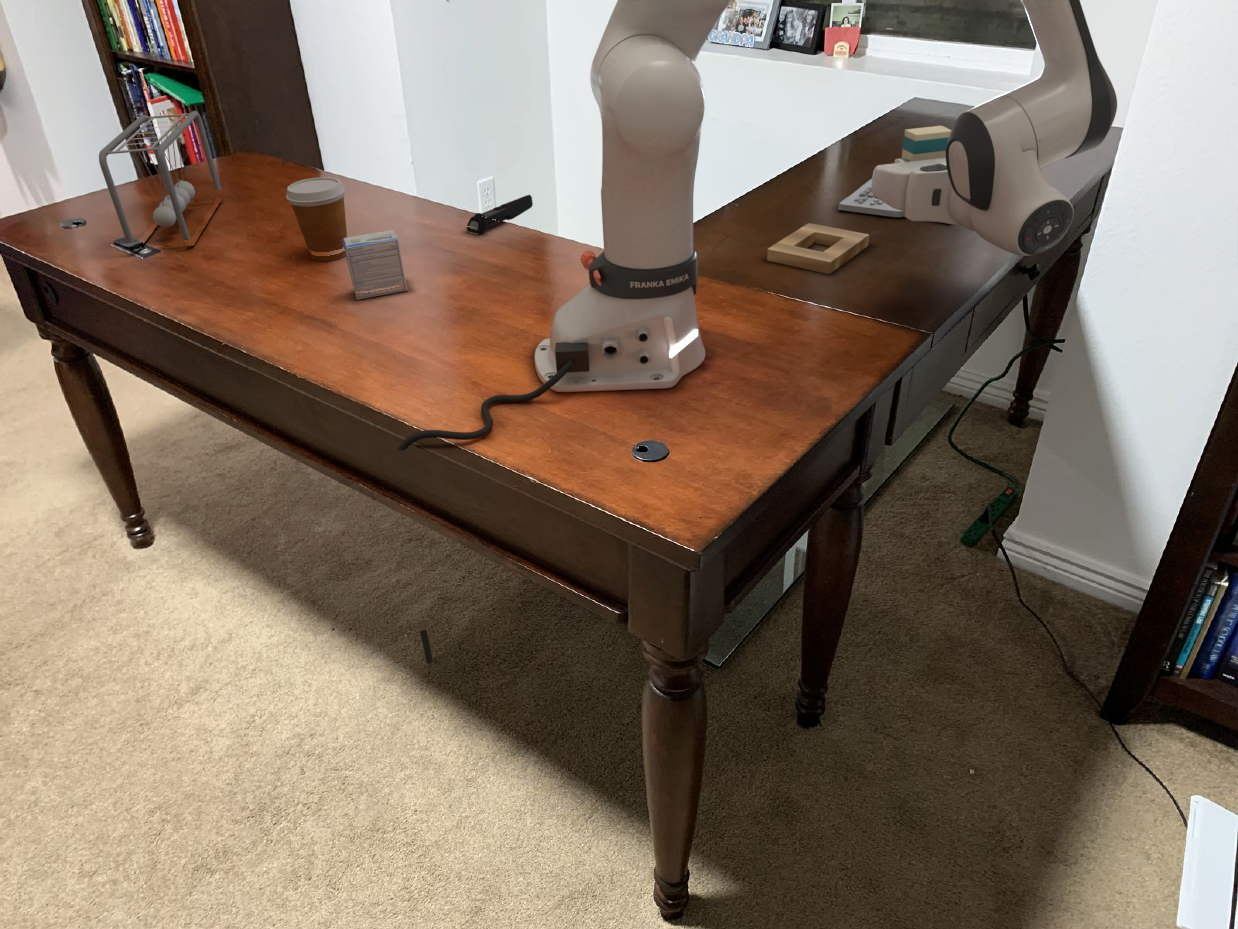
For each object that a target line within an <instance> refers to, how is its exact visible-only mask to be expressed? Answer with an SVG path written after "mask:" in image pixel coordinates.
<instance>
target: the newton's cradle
mask: <svg viewBox="0 0 1238 929" xmlns="http://www.w3.org/2000/svg"><path fill="white" fill-rule="evenodd" d="M176 117H177V120H173V121H171V123H173V124H172V125H168V126H165V128H168V129H167V130H164V131H161V133H163V134H162V135H160V136H159V137H158V136H157V135H156V133H157V134H158V131H155V130H154V129H158V128H162V126H155V127H153V125H154V124H155V122H152V121H153V120H155V119H164V118H176ZM178 117H179V118H178ZM183 119H184V120H183ZM180 121H181V123H180ZM193 121H195V123H196V126H197V130H198V134H199V137H200V140H201V143H202V147H203V151H204V155H205V157H206V162H207V165H208V168H209V172H210V176H211V179H212V183H213V186H214V189H215V190H214V191H216V190H222V186H221V183H220V179H219V176H218V172H217V168H216V164H215V162H214V158H213V155H212V151H211V148H210V144H209V140H208V137H207V133H206V130H205V126H204V122H203V119H202V116H201V115H200V113H199V112H198V111H197V110H193V111H191V112H190V113H177V114H165V115H152V116H151V115H150V116H147V115H146V114H141V115H140V116H139V117H137V118H136V119H135V120H133V121H132V122H131V123H130V125H128V126H127V127H126V128H125V129H124V130H123V131H122V132H121V133H119V134H118V135H117V136H116V137H115V138H114V139H113V140H111V141H110V142H109V143H108V144H106V145H105V146H104V147H103V148H102V149H101V150H100V151H99V153H98V162H99V166H100V169H101V170H100V171H101V173H102V175H103V178H104V181H105V183H106V186H107V190H108V192H109V195H110V198H111V202H112V204H113V207H114V209H115V213H116V215H117V219H118V220H119V223H120V226H121V229H122V232H123V236H124V238H125V240H126V244H127V243H132V242H134V243H135V240H134V237H133V234H132V231H131V229H130V226H129V222H128V219H127V218H126V214H125V210H124V208H123V204H122V202H121V200H120V196H119V194H118V190H117V189H116V185H115V182H114V180H113V176H112V173H111V171H110V168H109V165H108V160H107V156H109V155H112V154H113V155H116V154H126V153H129V154H130V156H131V158H132V159H133V162H134V164H136V165H135V166H136V167H137V169H138V171H139V173H140V175H141V176H142V178H143V180H144V182H145V184H146V186H147V188H148V189H149V192H150V194H151V195H152V197H153V199H154V201H155V202H156V204H157V206H158V207H156V208H155V209H154V211H153V213H152V219H153V221H155V223H156V224H157V225H159V226H158V227H161V228H164V229H165V228H171V227H172V226H174V225H175V223H176V221H177V224H178V227H179V230H180V233H181V237H182V240H183V241H184V240H189V239H190V238H191V237H190V233H189V231H188V226H187V224H186V221H185V217H184V214H183V212H184V211H185V209H186V207H187V206H189V205H190V204H189V202H191V200H192V199H193V198H194V197H195V194H196V191H195V187H194V186H193V184H192V183H190V182H188V181H185V180H184V173H183V164H182V163H183V162H182V154H181V147H180V146H181V145H180V137H179V136H180V135H181V134H182V133H183V132H184V131H185V130H186V129H187V128H188V127H189V126H190V125H191V124H192V123H193ZM165 123H166V124H167V121H160V122H159V121H158V124H165ZM174 128H175V129H174ZM173 129H174V130H173ZM141 131H144V132H141ZM170 132H171V133H170ZM169 133H170V134H169ZM141 134H143V135H144V134H145V135H146V138H147V139H148V141H149V144H150V145H151V146H150V147H146V145H145V142H144V141H143V140H142V139H144V137H141V136H140V135H141ZM168 134H169V135H168ZM136 136H138V137H137V138H135V137H136ZM128 137H129V138H128ZM164 138H165V139H164ZM126 139H127V140H126ZM134 139H135V140H140V143H139V142H138V143H137V142H136V143H135V141H134ZM176 140H177V144H178V153H179V159H180V160H179V161H180V162H179V163H180V170H181V180H180V179H179V177H178V171H177V170H178V169H177V160H176V151H175V150H176V149H175V141H176ZM130 142H132V143H130ZM160 142H161V143H160ZM140 144H141V145H143V148H138V146H137V145H140ZM131 145H132V146H133V145H134V146H135V149H130V148H129V147H128V146H131ZM171 145H172V149H173V156H174V167H175V169H174V168H173V166H172V163H171V156H170V148H169V147H170V146H171ZM125 146H126V148H127V149H124V150H122V149H123V148H124V147H125ZM116 148H117V149H116ZM166 150H167V154H168V156H167V154H166ZM151 151H152V152H153V153H154V157H155V160H156V163H157V167H156V164H155V163H154V160H153V159H152V156H151V155H150V153H149V152H151ZM135 152H136V153H138V154H139V156H140V158H141V161H142V162H143V163H144V165H145V167H146V169H147V172H148V173H149V175H150V177H151V179H152V181H153V183H154V184H155V186H156V188H157V190H158V192H159V194H160V197H161V202H160V203H159V202H158V200H157V199H156V197H155V195H154V193H153V191H152V190H151V187H150V186H149V183H148V181H147V180H146V178H145V176H144V175H143V172H142V170H141V169H140V167H139V165H138V163H137V161H136V159H135V158H134V156H133V153H135ZM141 152H146V153H147V155H148V157H149V159H150V160H151V163H152V164H153V167H154V168H155V170H156V172H157V174H158V177H159V185H160V186H158V184H157V182H156V180H155V179H154V177H153V175H152V172H151V171H150V169H149V166H147V164H146V161H145V160H144V158H143V156H142V154H141ZM168 164H169V166H168ZM172 171H173V174H174V175H175V177H176V183H175V184H174V182H173V174H172ZM162 185H163V186H164V188H165V191H166V196H165V197H164V196H163V188H162ZM159 187H160V188H159ZM168 194H169V195H168Z"/></svg>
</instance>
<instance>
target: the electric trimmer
mask: <svg viewBox="0 0 1238 929" xmlns="http://www.w3.org/2000/svg"><path fill="white" fill-rule="evenodd" d="M533 205H534V204H533V197H532V195H531V194H527V195H524V196H521V197H519V198H516V199H514V200H510V201H508V202H506V203H502V204H501V205H499V206H496V207H493V208H492V209H489V210H487V211H484V212H482V213H481V212H477V213H475V214H474V215H473V216H471V217H470V218H469V220H468V222H467V225H466V231H467V233H469V234H472V235H476V236H478V235H482V234H484V233H485V231H486V230H487V229H489V228H491V227H493V226H495V225H497V224H500V223H501V222H504V221H510V220H513V219H515V218H517V217H518V216H520V215H523V214H524V213H525V212H526V211H528V210H530V209H532V207H533ZM482 216H483V217H482ZM485 217H487V218H485ZM492 219H496V221H495V220H492ZM498 221H499V222H498ZM467 226H471V227H474V228H471V227H467ZM475 228H476V229H475Z"/></svg>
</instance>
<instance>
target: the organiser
mask: <svg viewBox="0 0 1238 929" xmlns="http://www.w3.org/2000/svg"><path fill="white" fill-rule="evenodd" d="M869 240H870V234H868V233H863V232H858V231H853V230H847V229H842V228H836V227H831V226H825V225H820V224H815V223H810V222H808V223H806V224H805V225H803V226H801V227H800V228H798V229H797V230H795V231H794V232H792V233H790V234H789V235H787V236H785V237H784V238H782V239H780V240H779V241H777V242H776V243H774V244H772V245H771V246H770V247H768V248H767V250H766V261H767V262H771V263H776V264H780V265H785V266H789V267H794V268H799V269H804V270H809V271H813V272H817V273H821V274H826V275H831V274H832V273H833V272H835V271H836V270H837V269H839V268H840V267H841V266H843V265H844V264H845V263H847V262H849V261H850V260H851V259H853V258H854V257H855V256H857V255H858V254H859V253H861V252H862V251H863V250H865V249H866V248H867V247H869ZM814 244H816V245H821V246H827V247H828V248H826V249H825V250H824V251H819V250H815V249H810V248H809V247H811V246H812V245H814Z"/></svg>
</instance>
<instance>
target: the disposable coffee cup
mask: <svg viewBox="0 0 1238 929" xmlns="http://www.w3.org/2000/svg"><path fill="white" fill-rule="evenodd" d="M286 190H287V192H286V195H285V198H286V200H287V201H288V202H289V204H290V205H291V208H292V210H293V213H294V216H295V219H296V222H297V225H298V226H299V229H300V232H301V234H302V237H303V239H304V242H305V244H306V248H307V250H308V249H309V250H311V251H315V252H330V251H334V250H339V249H342V248H343V247H344V244H343V239H344V238H347V237H348V230H347V219H346V205H345V192H346V188H345V187H344V186H343V184H342V181H341V180H340V179H338V178H336V177H329V176H328V177H327V176H325V177H311V178H305V179H301V180H298V181H295V182H293V183H291V184H290V185H288V186H287V188H286ZM309 250H308V251H309ZM309 255H310V259H311V260H314V261H317V262H330V261H336V260H340V259H342V258H344V257H346V253H345V251H343V252H341V253H339V254H335V255H330V256H315V255H312V254H310V253H309Z"/></svg>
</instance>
